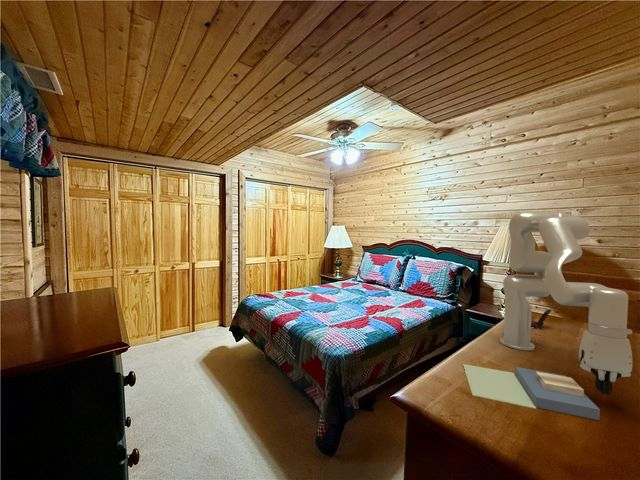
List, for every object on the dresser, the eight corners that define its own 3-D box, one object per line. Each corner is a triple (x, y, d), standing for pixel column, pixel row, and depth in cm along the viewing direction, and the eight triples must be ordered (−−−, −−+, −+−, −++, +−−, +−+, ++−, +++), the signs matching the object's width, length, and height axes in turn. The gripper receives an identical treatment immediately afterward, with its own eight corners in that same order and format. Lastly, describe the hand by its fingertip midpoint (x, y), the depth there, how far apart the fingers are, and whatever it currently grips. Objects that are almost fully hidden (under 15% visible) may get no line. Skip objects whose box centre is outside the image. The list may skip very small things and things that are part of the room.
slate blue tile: (515, 375, 92) (515, 366, 92) (565, 384, 87) (565, 375, 87) (535, 407, 76) (536, 397, 75) (599, 420, 71) (600, 409, 70)
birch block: (535, 377, 86) (535, 371, 86) (570, 383, 82) (571, 377, 82) (545, 389, 79) (545, 383, 79) (583, 396, 76) (583, 390, 76)
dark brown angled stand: (523, 321, 149) (523, 303, 148) (550, 327, 139) (551, 309, 139) (517, 324, 143) (517, 306, 143) (545, 331, 133) (546, 312, 133)
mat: (462, 364, 99) (462, 364, 99) (513, 373, 93) (513, 372, 93) (472, 395, 81) (472, 394, 81) (536, 409, 75) (536, 408, 75)
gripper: (631, 330, 77) (628, 390, 78) (567, 323, 82) (564, 379, 83) (652, 339, 70) (648, 406, 71) (580, 331, 75) (577, 393, 76)
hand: (603, 391), depth 77 cm, fingers closed
